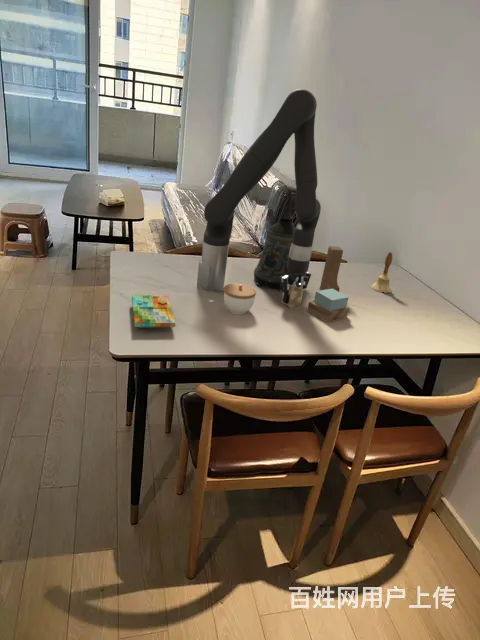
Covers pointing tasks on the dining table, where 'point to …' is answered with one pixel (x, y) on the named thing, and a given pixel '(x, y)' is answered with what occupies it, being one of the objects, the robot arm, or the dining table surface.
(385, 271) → the hand bell
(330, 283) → the wooden block
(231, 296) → the lidded jar
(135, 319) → the puzzle game
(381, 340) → the dining table surface
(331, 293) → the tower top
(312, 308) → the tower base
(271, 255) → the beer stein
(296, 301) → the maple block
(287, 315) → the dining table surface
